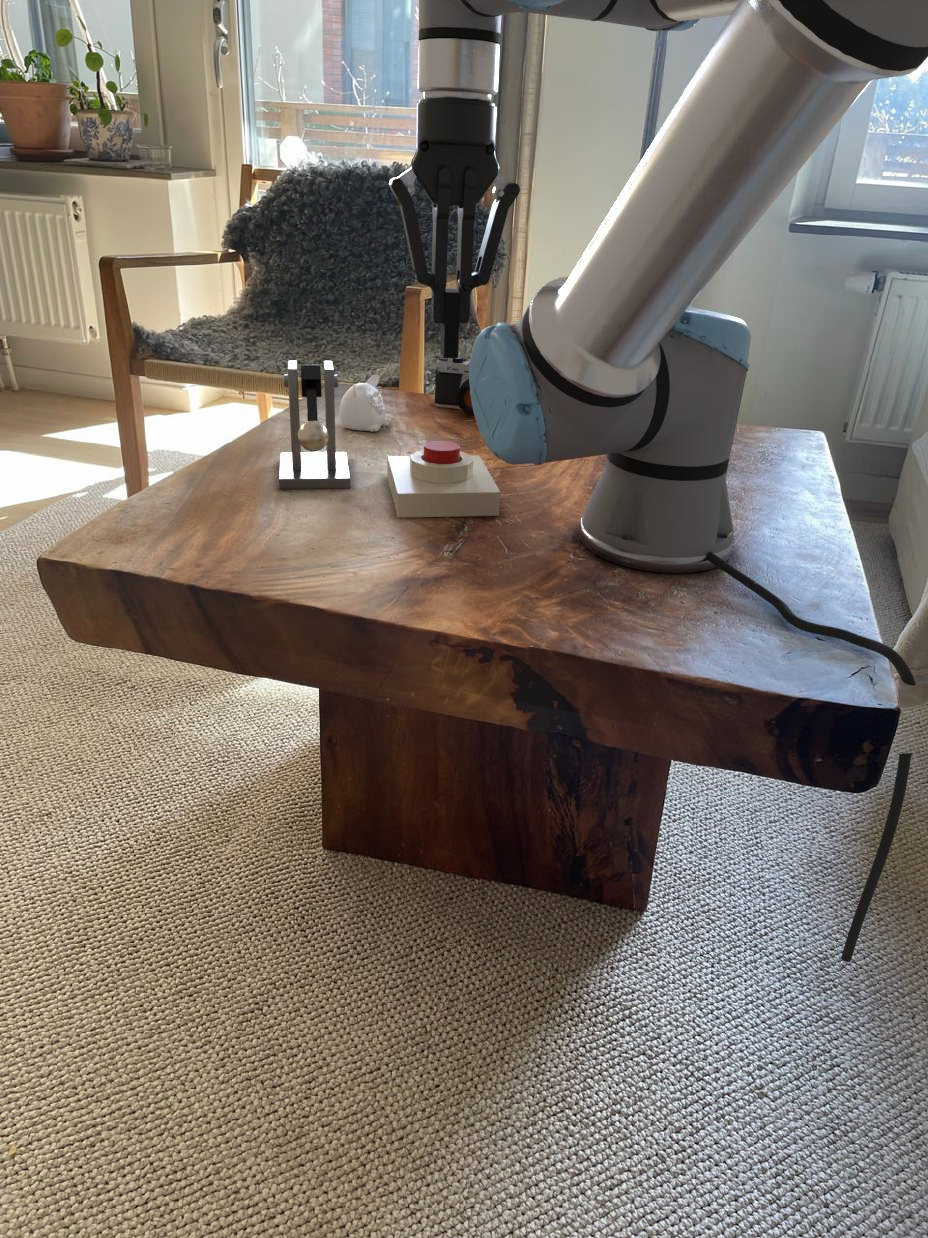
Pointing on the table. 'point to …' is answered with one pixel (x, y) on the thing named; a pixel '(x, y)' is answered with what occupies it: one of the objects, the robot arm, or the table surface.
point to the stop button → (442, 452)
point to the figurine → (363, 407)
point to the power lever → (312, 410)
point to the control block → (441, 487)
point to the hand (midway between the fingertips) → (449, 355)
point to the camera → (453, 384)
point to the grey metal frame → (313, 466)
